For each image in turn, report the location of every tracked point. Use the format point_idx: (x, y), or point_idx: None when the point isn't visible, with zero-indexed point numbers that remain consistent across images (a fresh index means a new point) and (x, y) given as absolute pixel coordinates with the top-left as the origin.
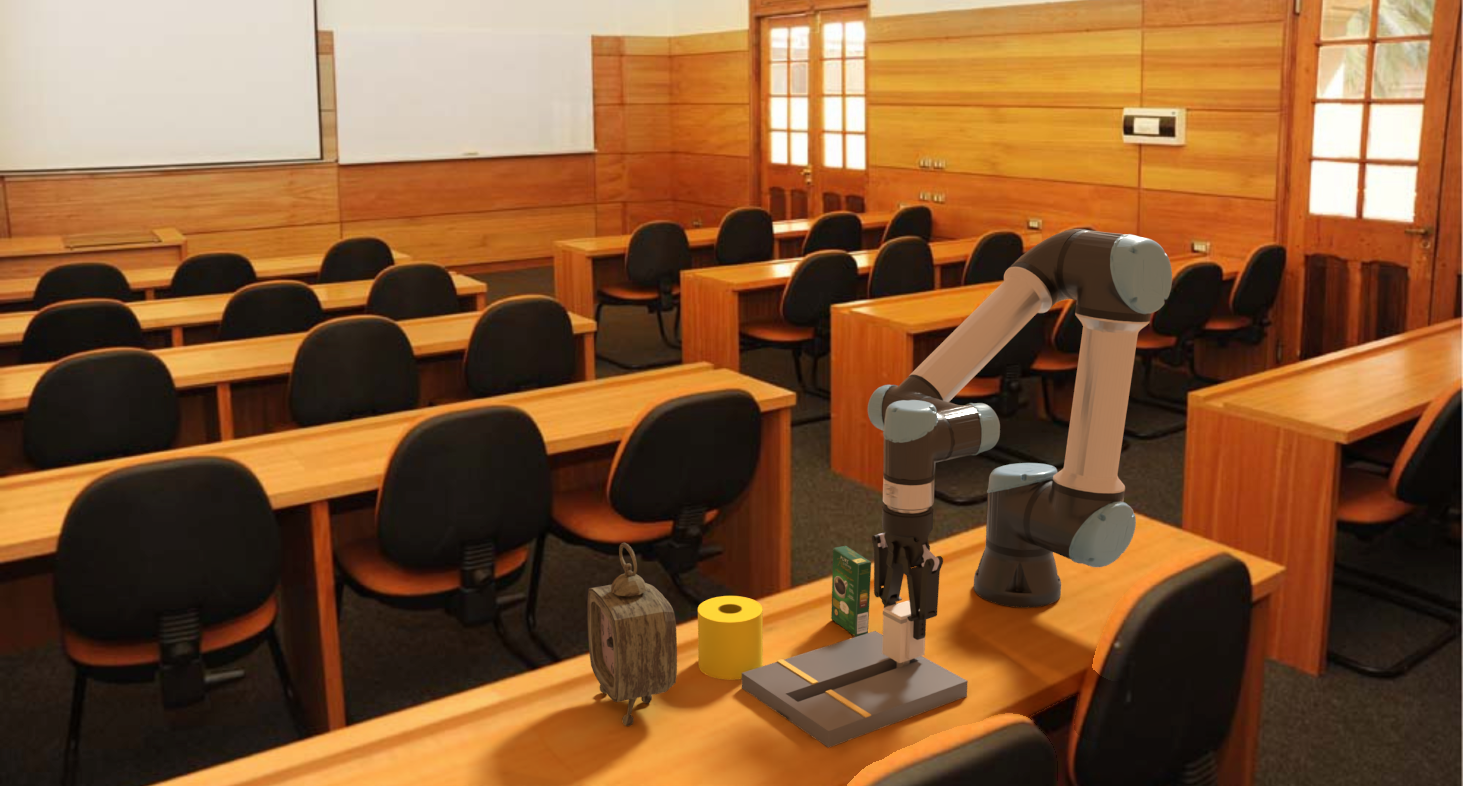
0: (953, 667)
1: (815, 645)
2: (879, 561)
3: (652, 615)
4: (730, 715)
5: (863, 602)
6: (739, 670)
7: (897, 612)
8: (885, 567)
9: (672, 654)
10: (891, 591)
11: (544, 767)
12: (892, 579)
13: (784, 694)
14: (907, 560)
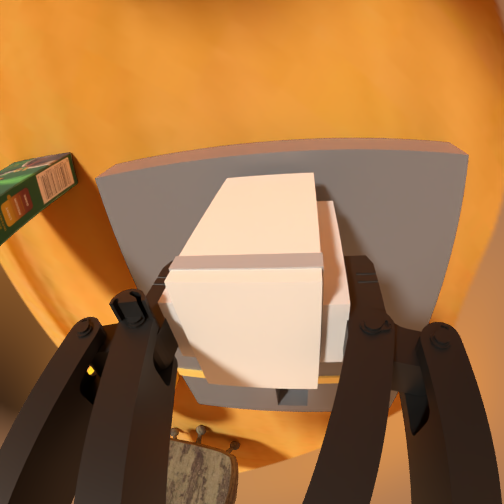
0: (308, 51)
1: (97, 260)
2: (70, 500)
3: None
4: (259, 411)
5: (21, 203)
6: (175, 386)
7: (272, 379)
8: (60, 458)
9: (232, 490)
10: (165, 407)
11: (263, 463)
12: (163, 477)
13: (278, 406)
14: None
